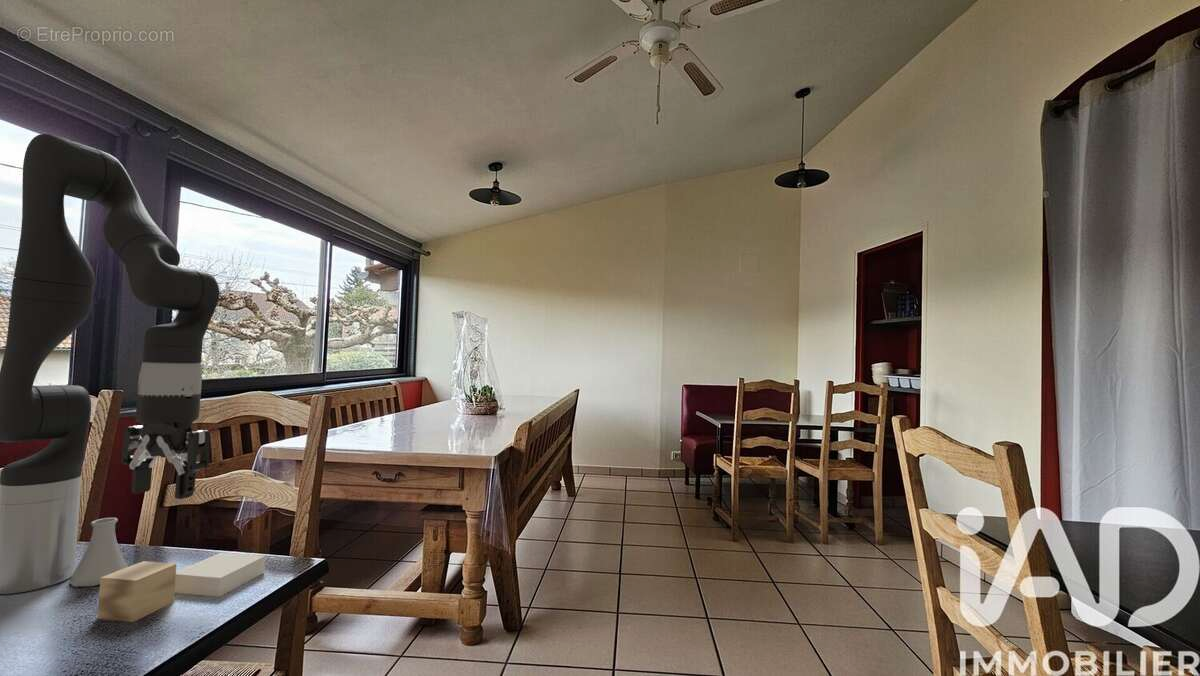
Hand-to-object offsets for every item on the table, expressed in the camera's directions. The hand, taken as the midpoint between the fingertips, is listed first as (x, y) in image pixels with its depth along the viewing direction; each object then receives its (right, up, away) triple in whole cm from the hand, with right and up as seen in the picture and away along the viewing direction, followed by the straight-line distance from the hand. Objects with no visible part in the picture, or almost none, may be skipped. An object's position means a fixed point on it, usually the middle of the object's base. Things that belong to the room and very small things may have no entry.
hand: (162, 495), depth 76 cm
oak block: (-2, -17, -2) cm, 17 cm away
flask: (-18, -17, +8) cm, 26 cm away
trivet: (+3, -18, +8) cm, 19 cm away
